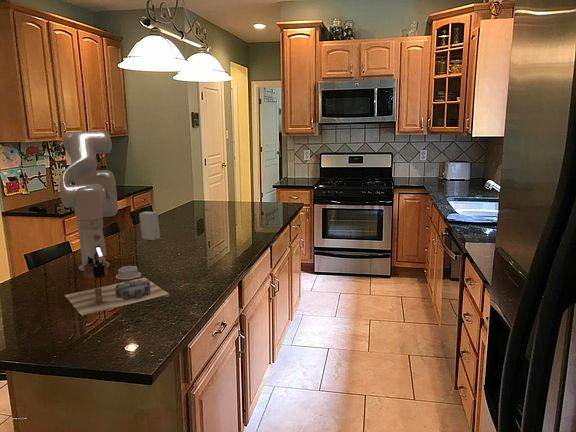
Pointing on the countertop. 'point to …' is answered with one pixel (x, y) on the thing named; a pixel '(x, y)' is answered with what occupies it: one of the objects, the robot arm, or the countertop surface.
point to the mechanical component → (128, 273)
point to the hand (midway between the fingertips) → (96, 274)
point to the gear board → (114, 296)
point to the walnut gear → (90, 270)
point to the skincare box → (149, 225)
